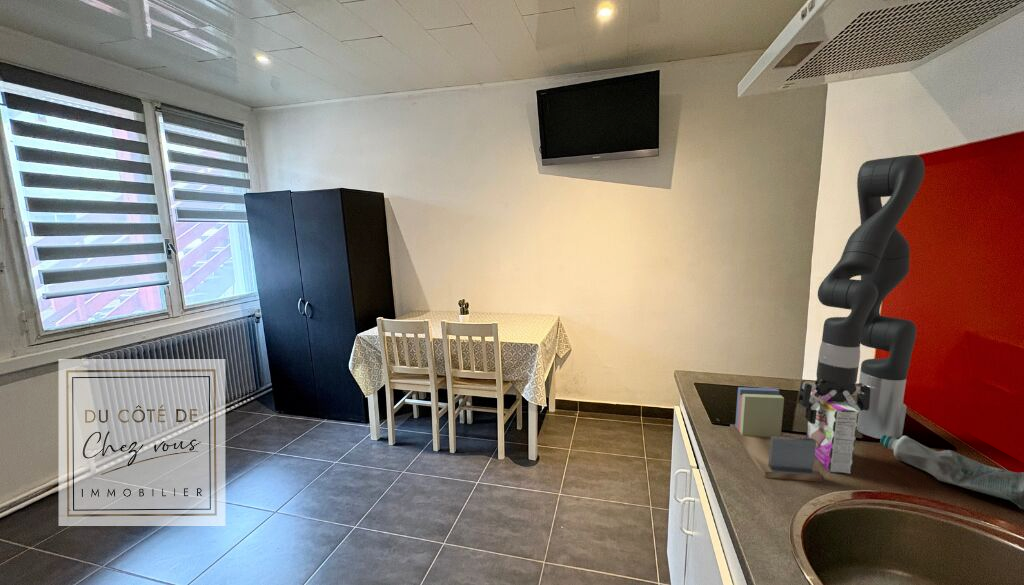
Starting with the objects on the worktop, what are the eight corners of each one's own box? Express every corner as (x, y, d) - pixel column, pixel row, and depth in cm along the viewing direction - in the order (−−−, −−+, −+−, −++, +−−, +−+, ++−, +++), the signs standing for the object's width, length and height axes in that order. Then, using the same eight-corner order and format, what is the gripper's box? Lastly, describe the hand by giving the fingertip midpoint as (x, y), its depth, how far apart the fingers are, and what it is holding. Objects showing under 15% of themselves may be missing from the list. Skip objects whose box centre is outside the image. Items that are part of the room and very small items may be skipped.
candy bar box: (803, 446, 103) (809, 389, 101) (824, 448, 102) (831, 390, 100) (828, 473, 93) (835, 409, 90) (852, 475, 92) (860, 410, 89)
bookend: (809, 469, 92) (813, 438, 90) (815, 475, 90) (818, 443, 88) (768, 466, 93) (770, 436, 92) (772, 472, 91) (775, 441, 90)
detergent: (1048, 500, 82) (892, 441, 103) (1055, 471, 80) (895, 417, 102) (1029, 528, 76) (868, 460, 98) (1037, 498, 74) (871, 435, 96)
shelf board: (774, 431, 111) (775, 426, 111) (821, 481, 90) (822, 475, 89) (729, 428, 113) (730, 424, 113) (765, 477, 92) (765, 471, 92)
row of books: (773, 428, 110) (776, 388, 108) (782, 437, 105) (786, 396, 103) (735, 426, 112) (738, 387, 110) (742, 435, 107) (745, 394, 105)
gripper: (860, 357, 95) (852, 418, 98) (796, 354, 98) (790, 414, 100) (884, 368, 88) (874, 433, 91) (814, 365, 90) (806, 429, 93)
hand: (830, 423), depth 96 cm, fingers open, 8 cm apart
